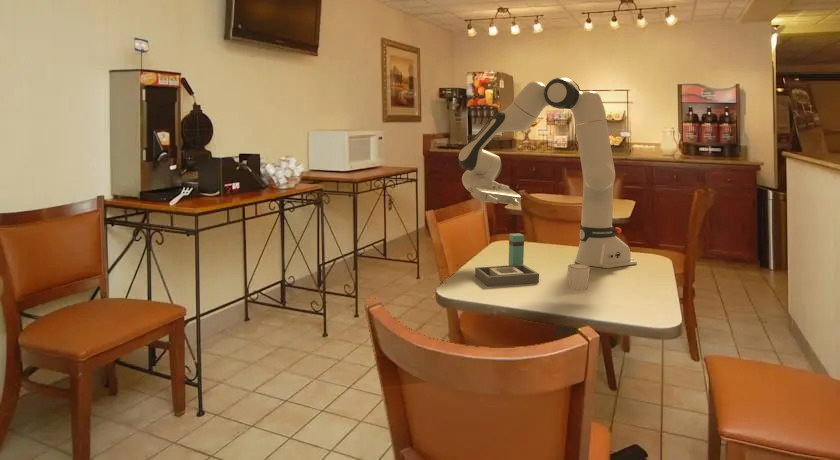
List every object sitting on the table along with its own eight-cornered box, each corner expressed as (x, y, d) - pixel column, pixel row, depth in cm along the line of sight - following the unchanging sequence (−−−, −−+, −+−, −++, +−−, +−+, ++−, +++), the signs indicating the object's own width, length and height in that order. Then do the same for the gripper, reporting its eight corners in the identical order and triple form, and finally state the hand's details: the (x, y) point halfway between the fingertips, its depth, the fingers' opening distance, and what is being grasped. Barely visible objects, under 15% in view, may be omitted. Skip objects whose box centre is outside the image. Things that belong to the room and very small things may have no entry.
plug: (518, 267, 206) (519, 233, 204) (523, 270, 202) (524, 235, 200) (508, 268, 205) (509, 233, 203) (512, 271, 201) (513, 236, 199)
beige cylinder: (590, 290, 178) (591, 269, 177) (567, 289, 179) (568, 268, 178) (588, 284, 184) (589, 263, 183) (566, 283, 186) (567, 263, 185)
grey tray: (523, 272, 200) (523, 264, 199) (538, 282, 187) (539, 273, 187) (475, 275, 196) (475, 267, 195) (487, 286, 183) (487, 277, 183)
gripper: (468, 179, 214) (486, 191, 202) (510, 186, 224) (530, 198, 212) (463, 195, 216) (481, 208, 204) (506, 201, 225) (525, 213, 214)
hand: (506, 203), depth 208 cm, fingers open, 8 cm apart
